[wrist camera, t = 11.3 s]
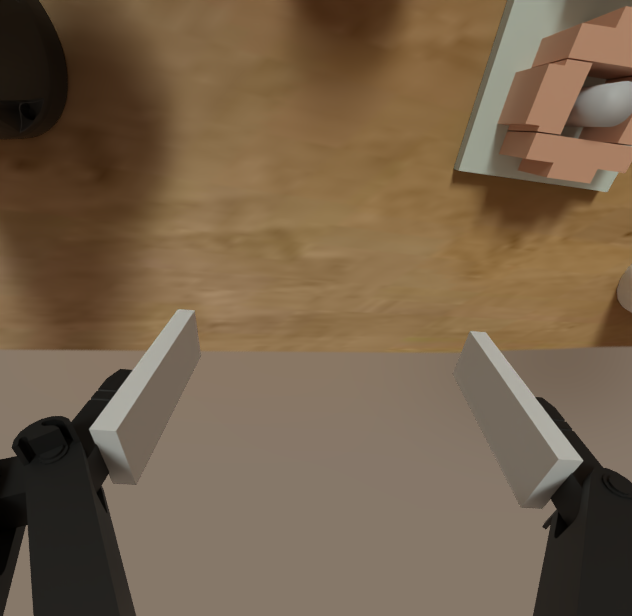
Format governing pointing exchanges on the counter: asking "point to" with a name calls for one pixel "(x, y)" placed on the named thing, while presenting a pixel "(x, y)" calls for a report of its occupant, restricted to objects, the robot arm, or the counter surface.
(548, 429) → the robot arm
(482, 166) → the board
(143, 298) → the counter surface
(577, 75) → the gear
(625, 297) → the mug
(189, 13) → the counter surface
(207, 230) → the counter surface
